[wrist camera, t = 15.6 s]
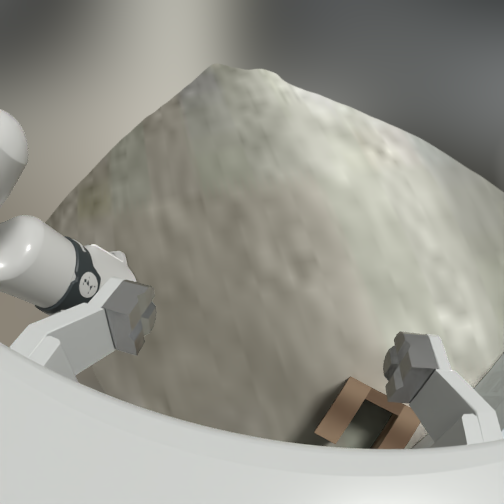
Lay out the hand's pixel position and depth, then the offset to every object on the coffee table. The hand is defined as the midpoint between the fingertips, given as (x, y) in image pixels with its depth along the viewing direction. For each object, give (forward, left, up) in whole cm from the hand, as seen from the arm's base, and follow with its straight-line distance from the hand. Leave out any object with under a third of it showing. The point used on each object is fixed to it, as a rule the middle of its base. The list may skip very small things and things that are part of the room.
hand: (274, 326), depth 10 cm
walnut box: (+7, -6, -33) cm, 34 cm away
